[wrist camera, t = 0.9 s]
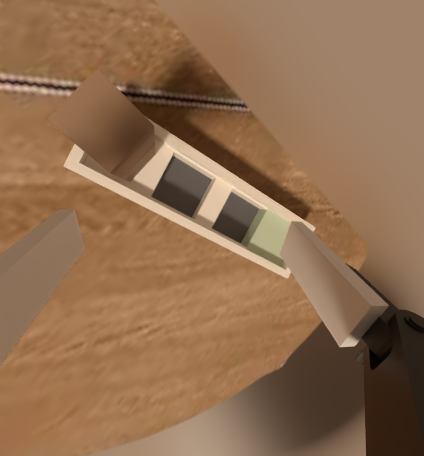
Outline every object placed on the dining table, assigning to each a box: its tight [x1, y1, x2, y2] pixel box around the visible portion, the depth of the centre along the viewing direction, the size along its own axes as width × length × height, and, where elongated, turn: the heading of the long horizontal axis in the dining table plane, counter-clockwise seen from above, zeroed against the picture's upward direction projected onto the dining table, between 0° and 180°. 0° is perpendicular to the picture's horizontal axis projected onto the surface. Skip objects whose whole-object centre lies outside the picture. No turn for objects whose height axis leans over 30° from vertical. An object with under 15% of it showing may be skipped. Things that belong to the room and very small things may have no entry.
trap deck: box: [64, 117, 315, 279], centre depth 30 cm, size 36×10×4 cm, turn 61°
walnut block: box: [47, 68, 156, 182], centre depth 20 cm, size 5×5×12 cm
